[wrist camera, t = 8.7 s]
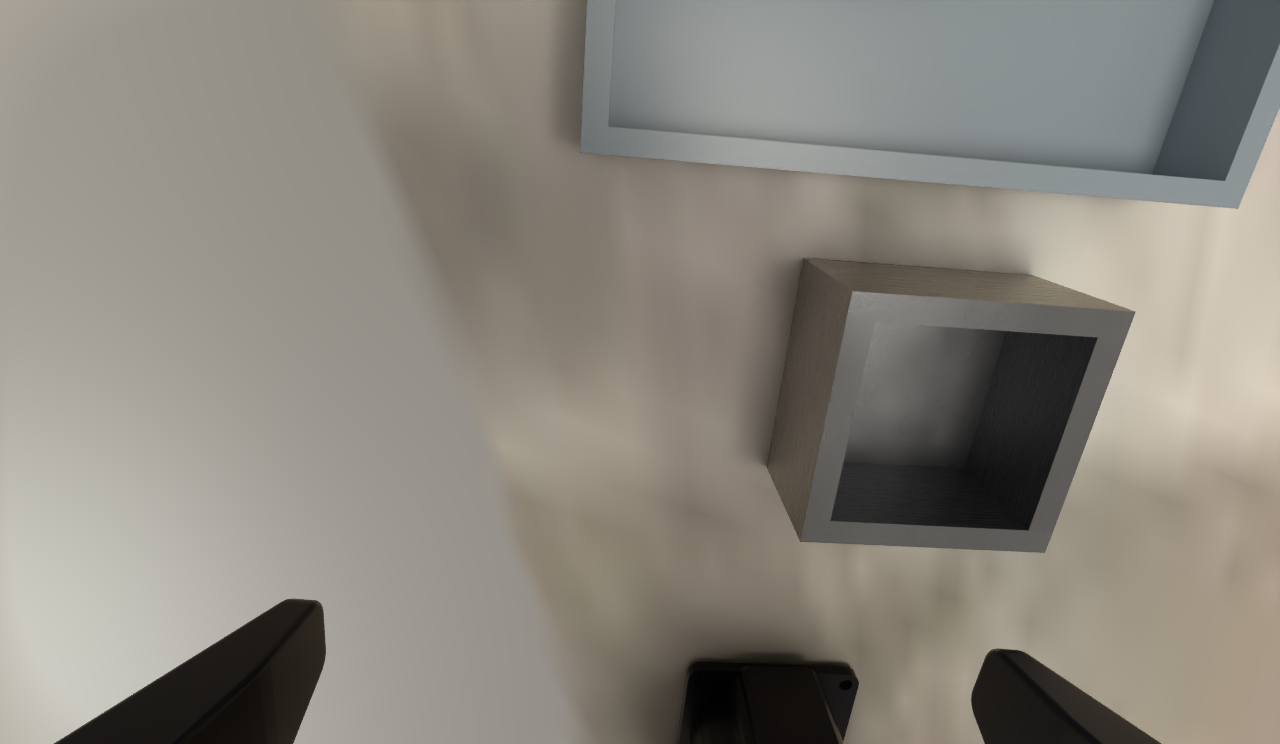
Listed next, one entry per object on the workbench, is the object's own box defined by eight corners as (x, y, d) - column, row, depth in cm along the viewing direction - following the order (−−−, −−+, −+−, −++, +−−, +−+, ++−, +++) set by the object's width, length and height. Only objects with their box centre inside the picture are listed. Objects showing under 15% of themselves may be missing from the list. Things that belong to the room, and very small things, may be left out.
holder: (969, 478, 21) (1044, 552, 18) (766, 467, 21) (800, 541, 17) (1032, 275, 19) (1135, 311, 15) (804, 257, 18) (851, 291, 15)
